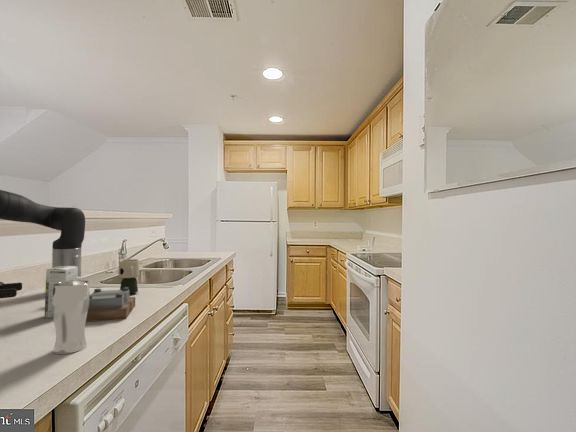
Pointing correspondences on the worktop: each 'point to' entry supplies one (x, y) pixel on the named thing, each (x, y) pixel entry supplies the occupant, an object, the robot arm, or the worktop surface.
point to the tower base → (111, 312)
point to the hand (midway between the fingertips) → (19, 289)
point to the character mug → (129, 274)
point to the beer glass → (70, 315)
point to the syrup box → (55, 277)
